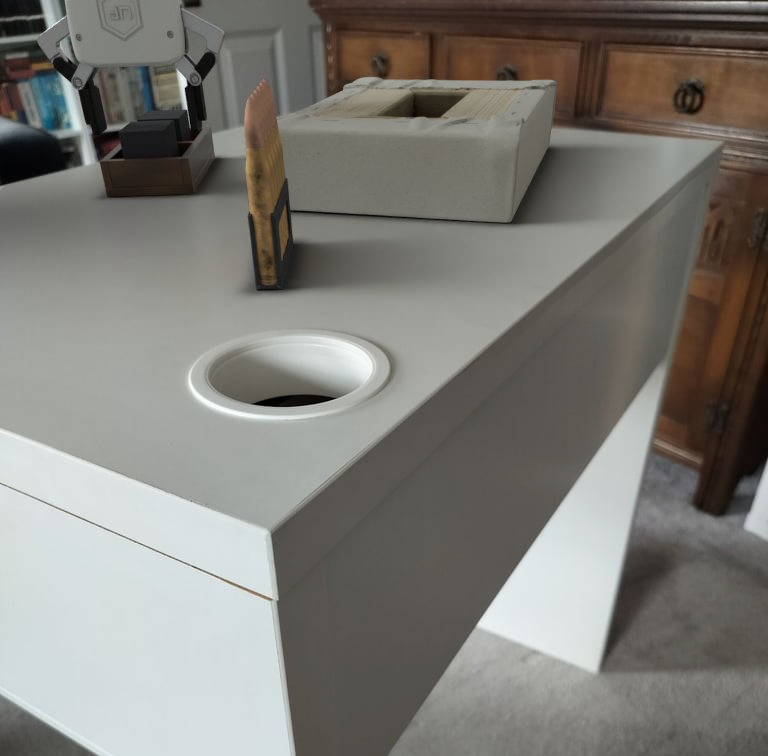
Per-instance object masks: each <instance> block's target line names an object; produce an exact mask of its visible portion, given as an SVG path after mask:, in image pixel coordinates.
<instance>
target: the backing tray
mask: <svg viewBox="0 0 768 756" xmlns="http://www.w3.org/2000/svg"><path fill="white" fill-rule="evenodd" d="M190 131H191V137H192V141H179V142H177V143H178V149H179V155H180V157H163V158H136V159H124V158H123V153H122V148H121V143H120V142H119V144H118V145H116V146H115V147H114V148H113V149H112V150H111V151H110V152H108V154H106V155H105V156H104V157H103V158H102V159H101V160H100V161H99V165H100V171H101V174H102V180H103V185H104V187H105V194H106V197H107V198H111V197H112V198H117V197H140V196H141V197H143V196H169V195H170V196H171V195H193V194H195V192H196V191H197V189H198V187H199V186H200V184H201V182H202V180H203V179H204V178H205V176H206V174H207V172H208V171H209V169H210V167H211V166H212V164H213V163H214V161H215V159H216V154H215V146H214V139H213V131H212V127H211V126H207V127H206V126H205V127H203V126H202V128H201V129H200V131H199V132H193V130H191V128H190Z"/></svg>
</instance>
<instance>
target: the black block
mask: <svg viewBox="0 0 768 756" xmlns="http://www.w3.org/2000/svg"><path fill="white" fill-rule="evenodd" d="M118 137H119V144H120V143H121V148H122V153H123V158H124V159H136V158H163V157H180V155H179V149H178V143H177V137H176V131H175V125H174V120H161V121H137V120H136V121H132V120H131V121H130V122H129V123H127V124H126V125H125V126H124V127H123V128H121V129H120V130H119V131H118Z"/></svg>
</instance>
